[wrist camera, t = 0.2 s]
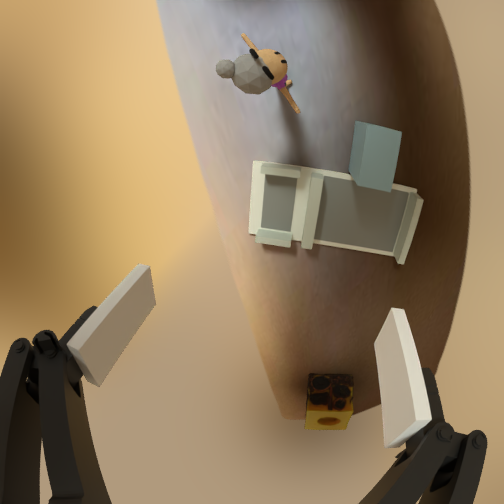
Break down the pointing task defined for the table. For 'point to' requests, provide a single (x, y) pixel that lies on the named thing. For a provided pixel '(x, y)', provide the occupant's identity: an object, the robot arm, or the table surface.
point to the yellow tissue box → (329, 401)
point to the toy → (257, 71)
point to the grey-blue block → (374, 156)
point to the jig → (330, 210)
